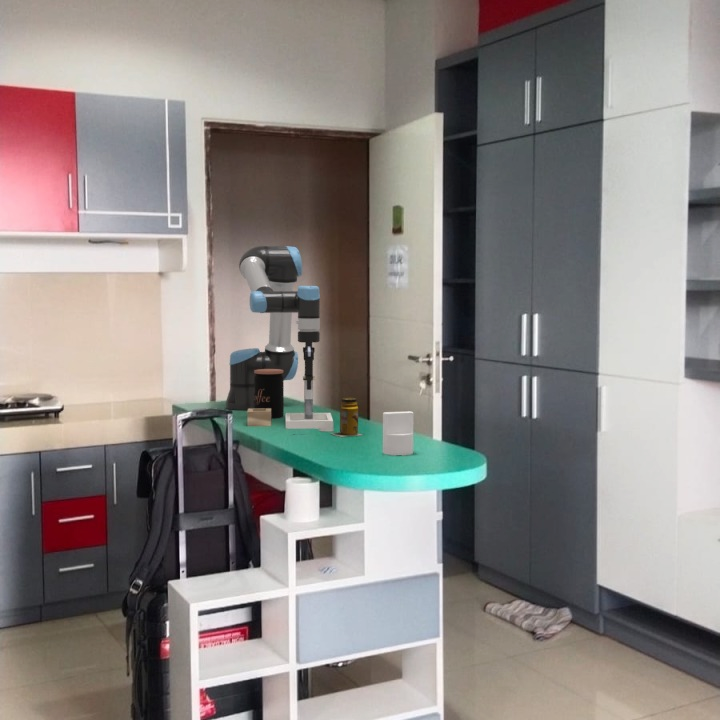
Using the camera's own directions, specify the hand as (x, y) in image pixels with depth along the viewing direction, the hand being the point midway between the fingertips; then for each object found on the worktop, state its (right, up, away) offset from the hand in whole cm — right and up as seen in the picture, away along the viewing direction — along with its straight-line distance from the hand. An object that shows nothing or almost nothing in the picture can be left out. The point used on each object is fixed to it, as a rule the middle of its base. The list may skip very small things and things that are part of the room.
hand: (308, 398), depth 329 cm
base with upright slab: (+29, -14, -48) cm, 58 cm away
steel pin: (0, -7, +1) cm, 7 cm away
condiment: (+13, -12, -15) cm, 23 cm away
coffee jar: (-16, -9, +19) cm, 26 cm away
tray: (0, -10, +1) cm, 10 cm away
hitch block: (-17, -10, -1) cm, 20 cm away
